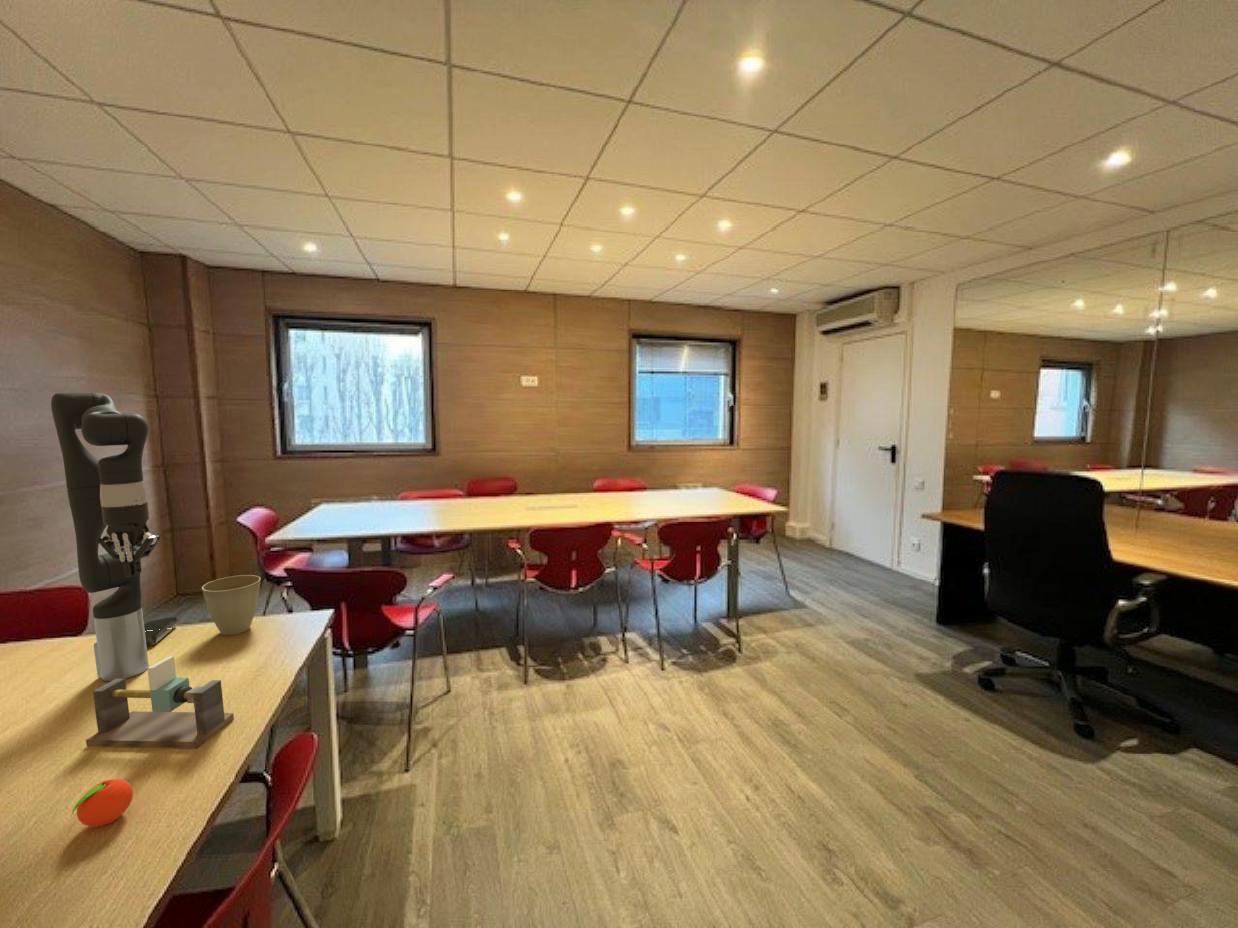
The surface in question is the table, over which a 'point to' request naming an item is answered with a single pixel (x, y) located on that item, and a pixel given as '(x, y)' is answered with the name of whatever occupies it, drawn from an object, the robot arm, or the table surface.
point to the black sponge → (157, 634)
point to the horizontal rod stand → (157, 718)
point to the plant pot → (232, 602)
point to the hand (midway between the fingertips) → (133, 575)
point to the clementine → (104, 802)
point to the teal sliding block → (164, 685)
